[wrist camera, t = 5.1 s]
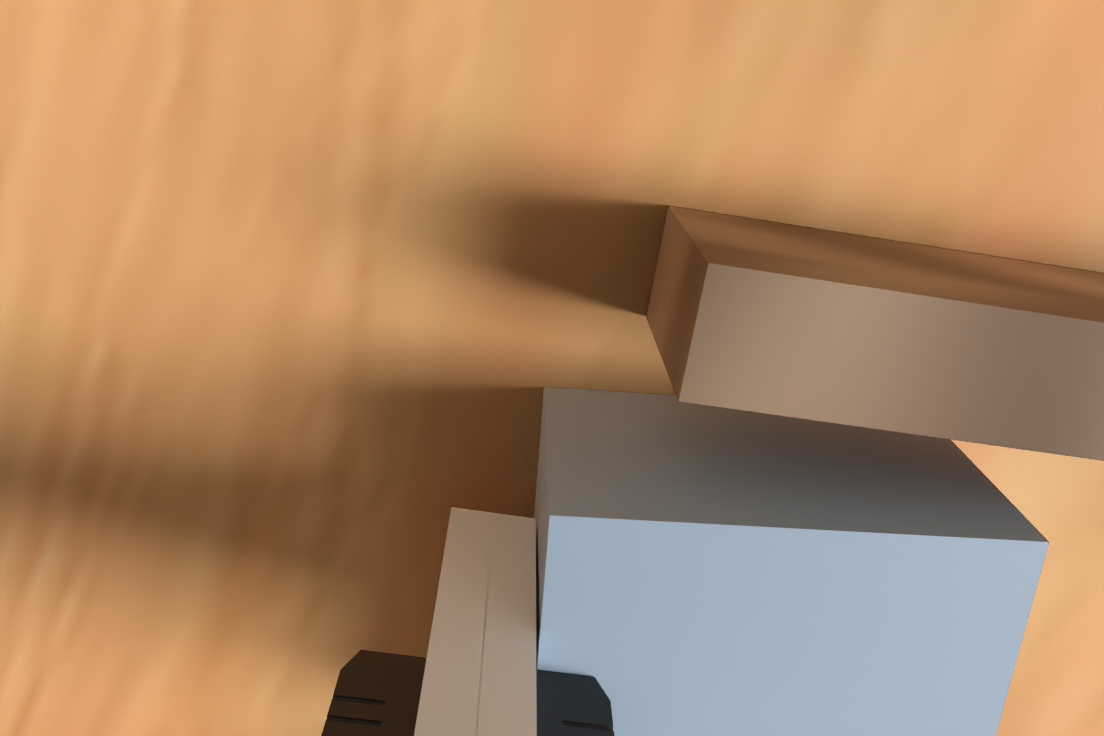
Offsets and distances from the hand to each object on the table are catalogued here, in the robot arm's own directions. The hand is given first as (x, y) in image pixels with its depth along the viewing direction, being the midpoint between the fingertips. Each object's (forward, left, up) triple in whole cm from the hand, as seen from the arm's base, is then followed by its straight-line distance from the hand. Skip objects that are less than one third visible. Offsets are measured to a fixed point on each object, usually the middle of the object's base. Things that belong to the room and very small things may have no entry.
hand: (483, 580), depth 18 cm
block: (+4, 0, -2) cm, 5 cm away
